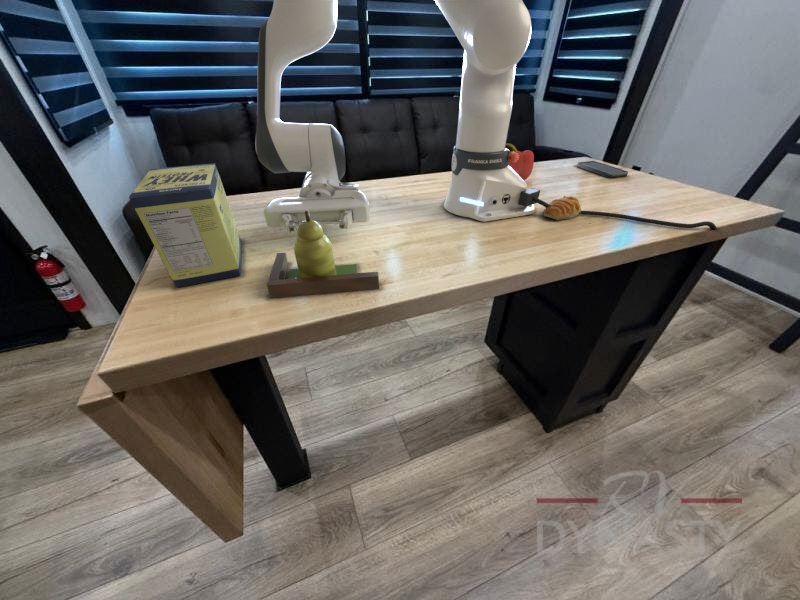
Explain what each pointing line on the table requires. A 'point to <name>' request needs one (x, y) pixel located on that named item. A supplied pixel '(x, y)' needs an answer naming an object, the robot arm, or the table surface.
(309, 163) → the robot arm
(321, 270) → the pear
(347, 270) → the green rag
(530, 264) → the table surface
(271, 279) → the corner guard
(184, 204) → the protein box
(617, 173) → the phone
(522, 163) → the vegetable
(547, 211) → the pastry
